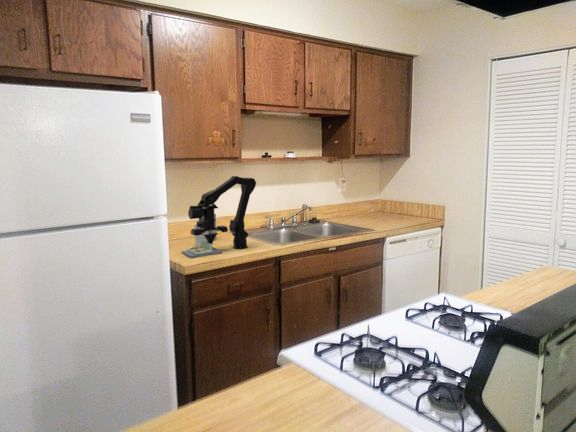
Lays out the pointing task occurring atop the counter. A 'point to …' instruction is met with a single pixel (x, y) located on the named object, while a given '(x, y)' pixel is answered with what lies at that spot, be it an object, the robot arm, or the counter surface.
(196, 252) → the panel
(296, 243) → the counter surface
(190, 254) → the board
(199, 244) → the supplement box
